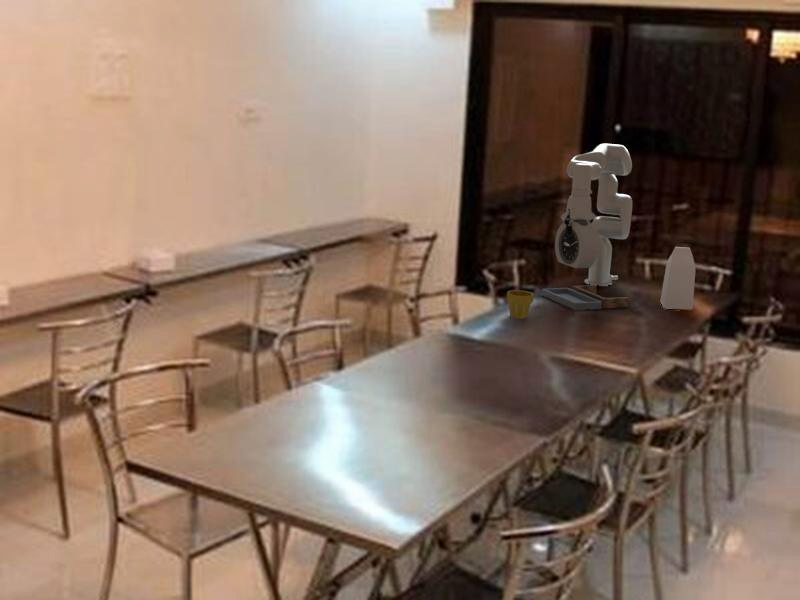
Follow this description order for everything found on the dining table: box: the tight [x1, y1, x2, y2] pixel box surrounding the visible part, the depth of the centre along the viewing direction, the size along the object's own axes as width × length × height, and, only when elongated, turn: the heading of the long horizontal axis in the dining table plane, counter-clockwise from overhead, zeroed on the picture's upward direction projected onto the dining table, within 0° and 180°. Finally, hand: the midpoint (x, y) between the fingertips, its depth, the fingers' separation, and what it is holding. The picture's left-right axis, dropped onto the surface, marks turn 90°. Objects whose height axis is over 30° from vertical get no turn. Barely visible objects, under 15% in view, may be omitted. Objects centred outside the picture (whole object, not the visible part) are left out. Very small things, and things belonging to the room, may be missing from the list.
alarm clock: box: [554, 220, 598, 269], centre depth 450 cm, size 21×8×20 cm, turn 25°
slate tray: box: [541, 287, 602, 311], centre depth 455 cm, size 13×27×3 cm, turn 23°
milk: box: [659, 246, 696, 310], centre depth 454 cm, size 12×12×26 cm
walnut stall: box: [571, 284, 629, 309], centre depth 461 cm, size 12×25×4 cm, turn 23°
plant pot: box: [506, 289, 534, 320], centre depth 424 cm, size 10×10×10 cm
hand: (576, 234), depth 449 cm, fingers closed on alarm clock, 7 cm apart
